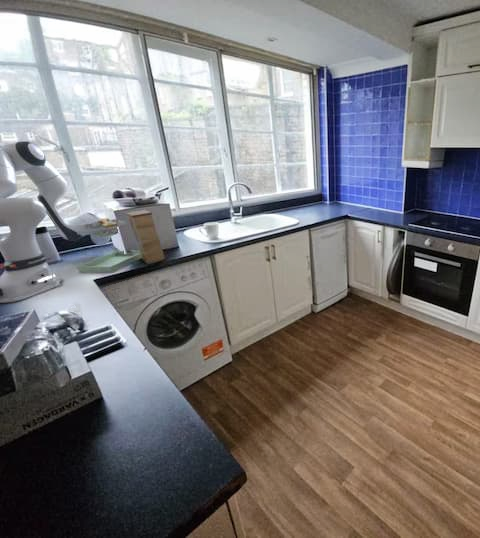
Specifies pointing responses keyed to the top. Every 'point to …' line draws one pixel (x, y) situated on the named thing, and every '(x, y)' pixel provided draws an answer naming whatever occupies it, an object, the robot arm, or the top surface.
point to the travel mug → (47, 245)
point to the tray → (110, 262)
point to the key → (107, 223)
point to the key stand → (146, 236)
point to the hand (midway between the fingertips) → (102, 220)
